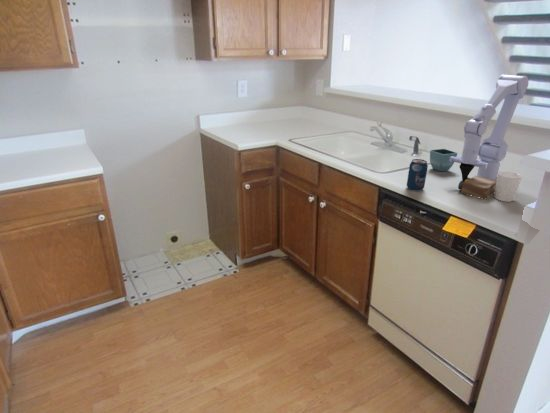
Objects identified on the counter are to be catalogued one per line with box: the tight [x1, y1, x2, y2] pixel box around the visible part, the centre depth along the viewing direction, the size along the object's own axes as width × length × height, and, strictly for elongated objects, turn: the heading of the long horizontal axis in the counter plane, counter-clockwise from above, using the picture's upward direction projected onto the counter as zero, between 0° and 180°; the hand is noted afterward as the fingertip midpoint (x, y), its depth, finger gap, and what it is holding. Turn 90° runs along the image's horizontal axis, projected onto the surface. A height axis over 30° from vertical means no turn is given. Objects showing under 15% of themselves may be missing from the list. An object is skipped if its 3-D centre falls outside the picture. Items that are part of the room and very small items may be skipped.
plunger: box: [457, 180, 465, 191], centre depth 154 cm, size 4×10×4 cm, turn 44°
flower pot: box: [429, 148, 458, 172], centre depth 181 cm, size 9×9×9 cm
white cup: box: [493, 170, 523, 203], centre depth 147 cm, size 8×8×10 cm
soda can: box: [406, 158, 429, 192], centre depth 156 cm, size 7×7×12 cm
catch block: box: [460, 175, 497, 200], centre depth 154 cm, size 13×9×4 cm
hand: (464, 181), depth 161 cm, fingers closed
